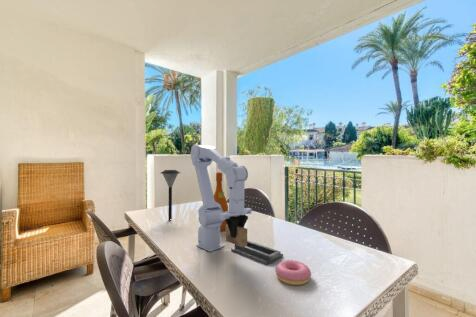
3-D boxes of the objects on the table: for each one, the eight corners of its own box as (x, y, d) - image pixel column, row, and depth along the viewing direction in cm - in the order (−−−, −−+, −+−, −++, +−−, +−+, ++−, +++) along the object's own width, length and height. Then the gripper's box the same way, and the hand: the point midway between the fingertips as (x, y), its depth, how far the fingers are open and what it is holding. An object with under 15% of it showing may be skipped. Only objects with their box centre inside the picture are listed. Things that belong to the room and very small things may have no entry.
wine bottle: (206, 231, 119) (206, 172, 118) (213, 225, 128) (213, 171, 128) (225, 233, 116) (225, 173, 116) (230, 227, 126) (230, 171, 126)
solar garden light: (158, 218, 142) (158, 169, 142) (178, 216, 148) (178, 169, 147) (160, 223, 131) (161, 170, 131) (182, 221, 136) (182, 170, 136)
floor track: (231, 250, 94) (231, 244, 94) (247, 244, 101) (247, 238, 101) (267, 265, 81) (267, 258, 81) (283, 256, 89) (283, 250, 89)
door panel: (225, 240, 88) (225, 224, 88) (230, 239, 89) (230, 223, 89) (242, 247, 81) (242, 230, 81) (247, 245, 83) (247, 228, 83)
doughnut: (285, 266, 81) (285, 254, 81) (316, 277, 74) (316, 264, 74) (268, 279, 73) (268, 265, 73) (302, 292, 66) (302, 277, 66)
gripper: (229, 203, 77) (229, 244, 77) (257, 198, 88) (257, 234, 88) (215, 200, 82) (215, 238, 82) (244, 195, 92) (243, 230, 93)
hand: (236, 236), depth 85 cm, fingers closed on door panel, 2 cm apart
